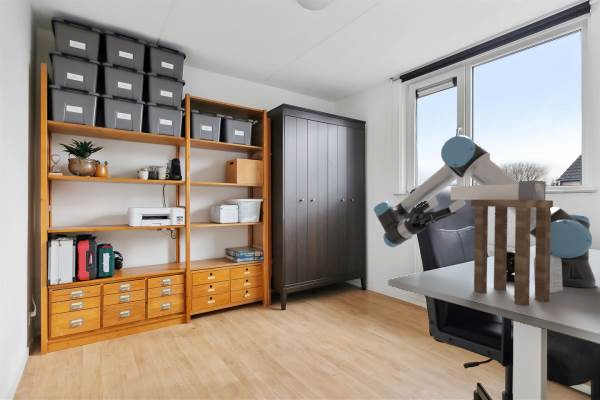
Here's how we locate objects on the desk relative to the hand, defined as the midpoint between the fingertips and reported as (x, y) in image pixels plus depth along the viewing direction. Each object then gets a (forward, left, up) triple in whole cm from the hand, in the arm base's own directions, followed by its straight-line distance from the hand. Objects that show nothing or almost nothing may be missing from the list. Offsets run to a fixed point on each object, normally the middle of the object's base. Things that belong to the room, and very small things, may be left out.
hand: (450, 200), depth 110 cm
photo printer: (-18, +21, -28) cm, 40 cm away
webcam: (-20, +8, -28) cm, 35 cm away
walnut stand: (-1, +20, -28) cm, 34 cm away
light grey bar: (-1, +15, 0) cm, 15 cm away
